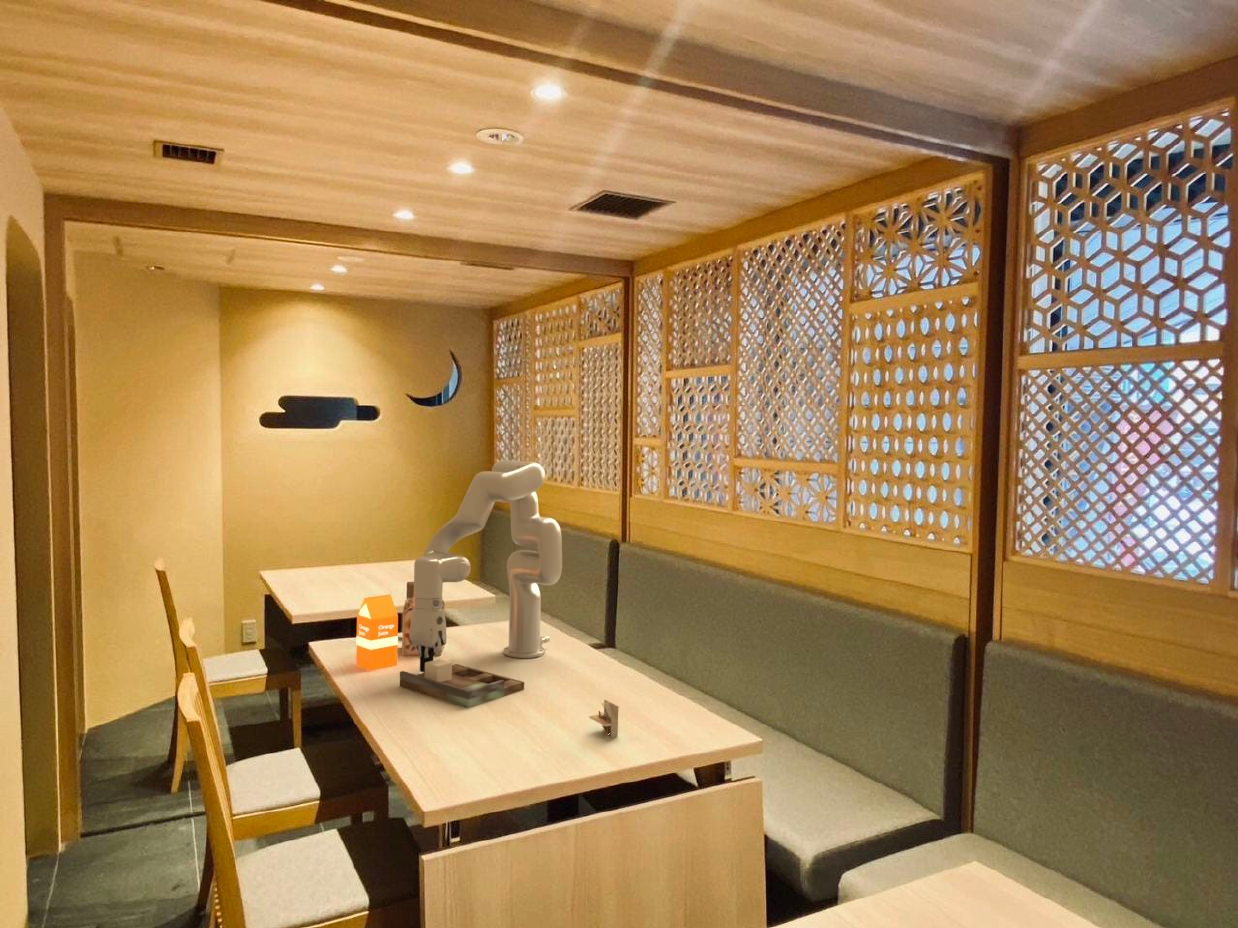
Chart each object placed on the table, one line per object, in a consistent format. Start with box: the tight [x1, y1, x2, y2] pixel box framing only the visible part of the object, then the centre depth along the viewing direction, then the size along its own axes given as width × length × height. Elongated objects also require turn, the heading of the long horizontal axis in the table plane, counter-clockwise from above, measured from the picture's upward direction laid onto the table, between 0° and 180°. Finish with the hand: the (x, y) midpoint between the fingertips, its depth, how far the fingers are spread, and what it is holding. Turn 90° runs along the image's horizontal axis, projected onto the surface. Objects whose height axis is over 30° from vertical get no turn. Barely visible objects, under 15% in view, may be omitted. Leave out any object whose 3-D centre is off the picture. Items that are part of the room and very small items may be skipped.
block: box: [425, 658, 453, 682], centre depth 233 cm, size 5×5×4 cm
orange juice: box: [355, 594, 399, 672], centre depth 252 cm, size 8×9×20 cm
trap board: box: [399, 663, 525, 709], centre depth 233 cm, size 20×26×4 cm
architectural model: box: [589, 699, 619, 738], centre depth 201 cm, size 3×7×7 cm, turn 35°
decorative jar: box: [401, 597, 445, 657], centre depth 268 cm, size 12×12×18 cm
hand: (426, 670), depth 236 cm, fingers closed
